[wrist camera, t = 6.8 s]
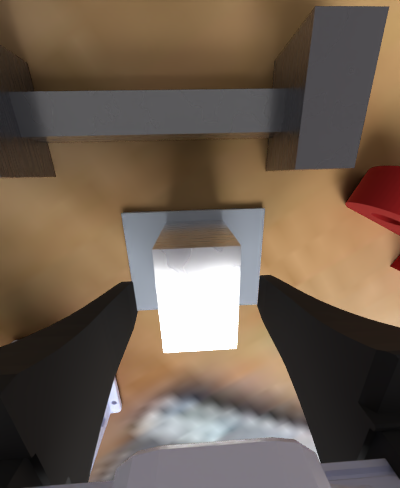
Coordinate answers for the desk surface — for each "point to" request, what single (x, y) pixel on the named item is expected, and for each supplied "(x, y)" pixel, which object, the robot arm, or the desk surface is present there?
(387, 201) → the mechanical linkage
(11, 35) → the desk surface
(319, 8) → the vise
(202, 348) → the white block
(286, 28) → the desk surface
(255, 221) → the mat
